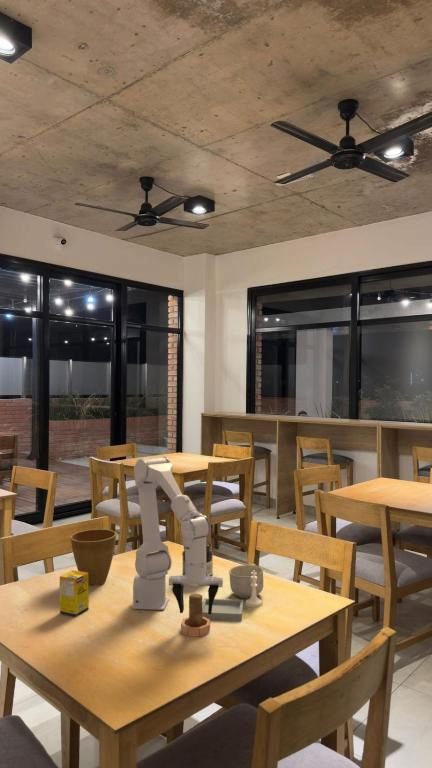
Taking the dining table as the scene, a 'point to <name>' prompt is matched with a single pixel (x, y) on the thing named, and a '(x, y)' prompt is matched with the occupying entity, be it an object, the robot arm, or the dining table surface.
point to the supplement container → (208, 559)
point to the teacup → (245, 580)
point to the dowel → (195, 610)
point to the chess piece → (253, 593)
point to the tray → (223, 609)
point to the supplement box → (74, 593)
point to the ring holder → (195, 630)
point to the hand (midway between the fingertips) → (195, 612)
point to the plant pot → (94, 553)
